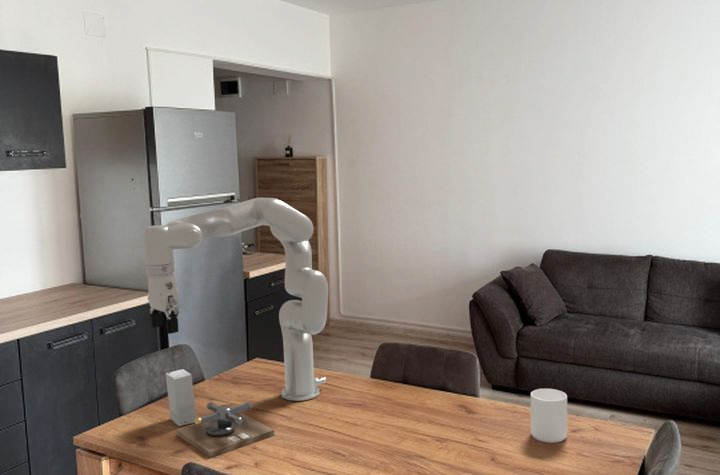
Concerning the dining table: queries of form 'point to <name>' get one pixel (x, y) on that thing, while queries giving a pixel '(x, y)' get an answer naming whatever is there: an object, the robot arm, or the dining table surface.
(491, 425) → the dining table surface
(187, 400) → the skincare box
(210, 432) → the capstan
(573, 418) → the dining table surface
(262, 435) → the board
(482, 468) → the dining table surface
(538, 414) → the mug
